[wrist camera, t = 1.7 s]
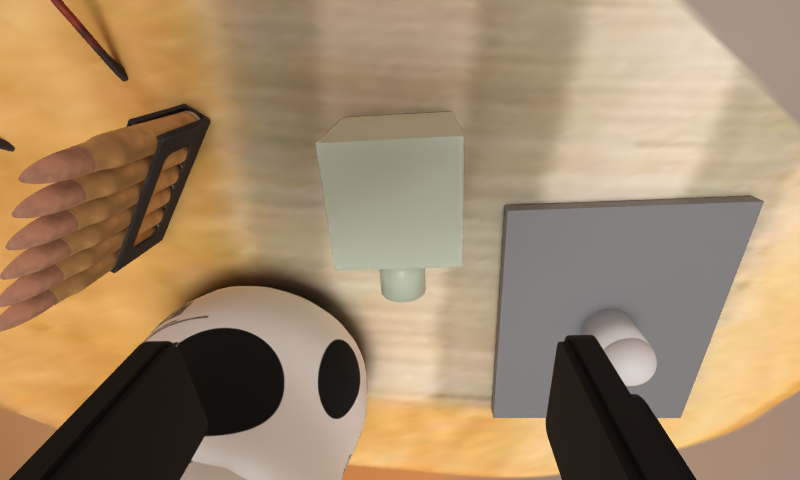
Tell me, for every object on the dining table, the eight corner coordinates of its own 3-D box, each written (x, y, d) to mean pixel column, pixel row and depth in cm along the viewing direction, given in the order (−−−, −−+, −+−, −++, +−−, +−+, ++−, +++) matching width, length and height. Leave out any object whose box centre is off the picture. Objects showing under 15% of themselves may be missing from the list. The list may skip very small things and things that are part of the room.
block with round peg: (343, 117, 24) (315, 143, 18) (452, 111, 24) (464, 135, 17) (360, 255, 29) (342, 317, 22) (452, 253, 28) (461, 315, 22)
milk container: (350, 436, 38) (298, 720, 22) (174, 396, 37) (-18, 667, 21) (396, 299, 30) (368, 582, 14) (176, 242, 29) (-128, 483, 13)
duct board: (504, 205, 26) (526, 245, 21) (751, 195, 25) (840, 235, 20) (491, 408, 35) (504, 472, 30) (673, 408, 34) (721, 475, 29)
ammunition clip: (184, 102, 24) (-3, 144, 14) (211, 119, 25) (50, 172, 14) (137, 228, 29) (-32, 335, 18) (161, 241, 29) (9, 353, 18)
